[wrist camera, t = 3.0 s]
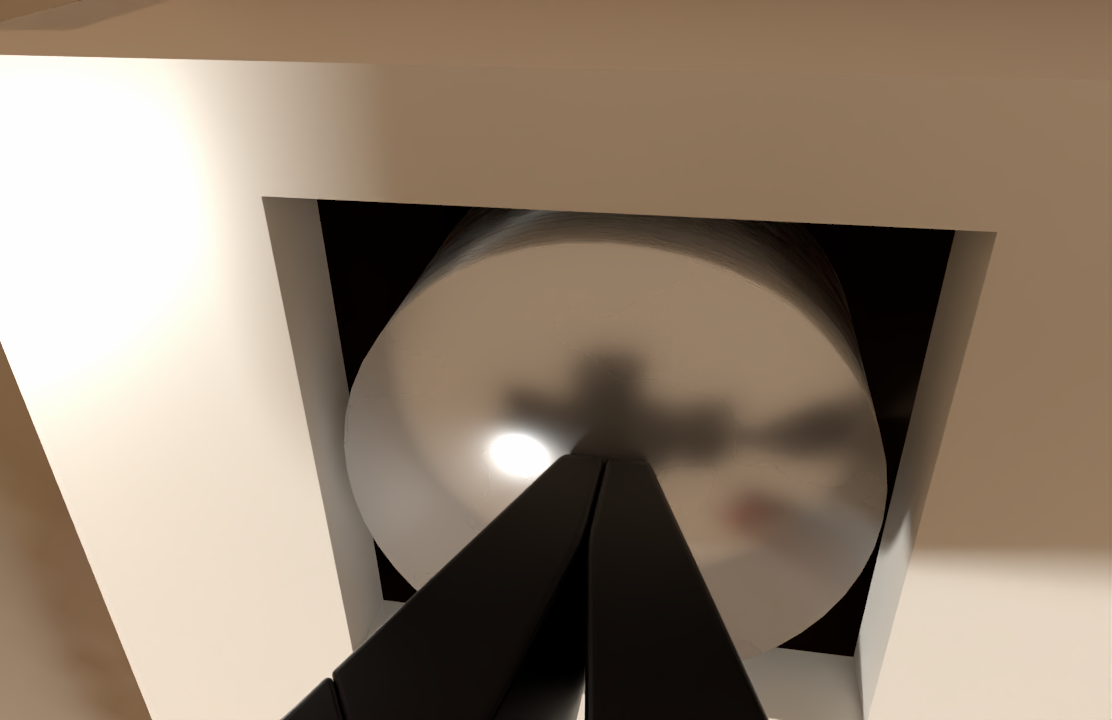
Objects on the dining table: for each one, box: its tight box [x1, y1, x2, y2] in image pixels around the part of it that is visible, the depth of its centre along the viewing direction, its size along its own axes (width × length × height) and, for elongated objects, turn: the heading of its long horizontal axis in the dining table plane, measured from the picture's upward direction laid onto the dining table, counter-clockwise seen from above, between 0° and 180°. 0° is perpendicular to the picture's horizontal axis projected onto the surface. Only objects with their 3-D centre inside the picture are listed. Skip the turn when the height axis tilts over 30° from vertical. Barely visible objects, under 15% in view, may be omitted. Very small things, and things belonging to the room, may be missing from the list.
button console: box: [0, 0, 1112, 720], centre depth 12 cm, size 12×16×4 cm
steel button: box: [344, 207, 887, 661], centre depth 9 cm, size 5×5×2 cm
